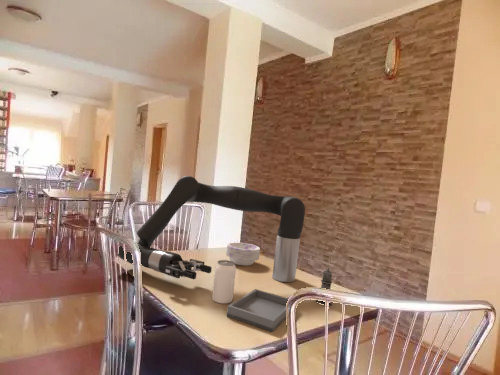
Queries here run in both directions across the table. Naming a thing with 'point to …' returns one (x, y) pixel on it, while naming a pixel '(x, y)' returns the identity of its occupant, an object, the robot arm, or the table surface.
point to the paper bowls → (242, 253)
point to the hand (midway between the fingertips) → (203, 273)
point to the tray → (259, 309)
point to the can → (224, 282)
